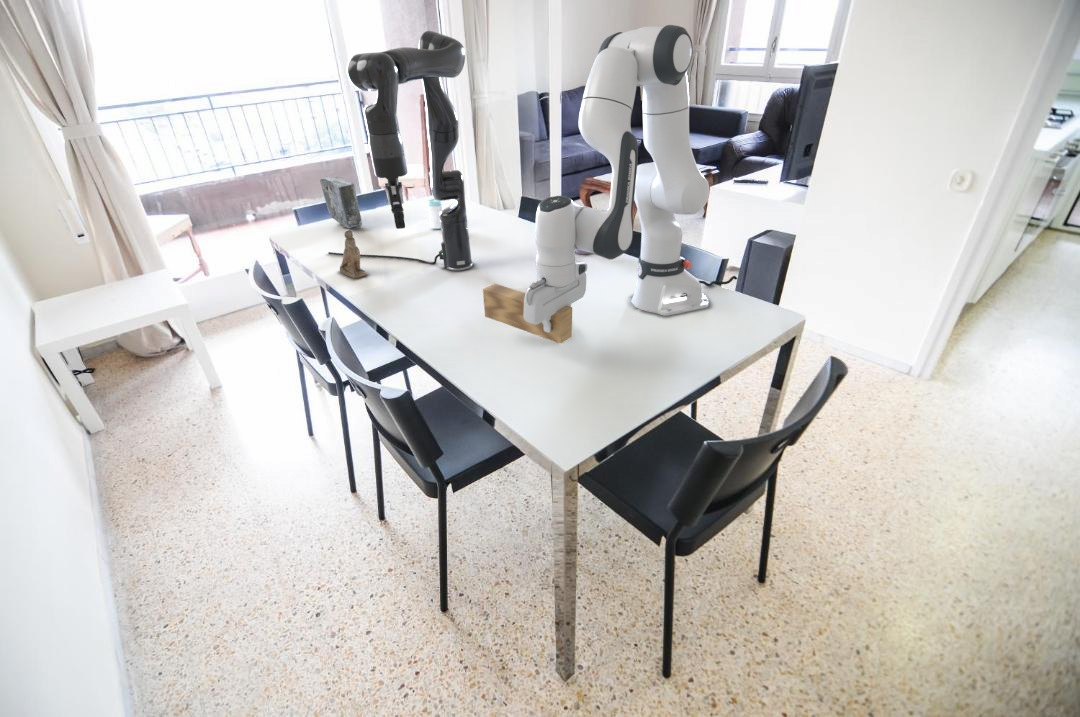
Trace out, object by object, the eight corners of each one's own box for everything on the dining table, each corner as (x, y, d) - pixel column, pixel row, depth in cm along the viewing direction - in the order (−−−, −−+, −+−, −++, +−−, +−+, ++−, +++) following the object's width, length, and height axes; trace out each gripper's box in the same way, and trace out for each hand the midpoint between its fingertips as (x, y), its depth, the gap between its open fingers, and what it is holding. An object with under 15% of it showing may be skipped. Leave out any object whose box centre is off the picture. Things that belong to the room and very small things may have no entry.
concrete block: (367, 229, 224) (357, 183, 213) (347, 233, 220) (336, 187, 209) (348, 217, 243) (338, 174, 232) (330, 221, 238) (318, 177, 228)
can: (445, 229, 220) (441, 202, 214) (429, 230, 220) (425, 202, 214) (447, 224, 226) (444, 198, 220) (432, 225, 226) (428, 198, 220)
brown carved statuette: (368, 281, 178) (362, 235, 166) (353, 285, 175) (347, 238, 163) (352, 266, 184) (346, 221, 172) (338, 270, 181) (331, 224, 169)
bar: (484, 316, 131) (482, 288, 127) (496, 310, 134) (494, 283, 130) (560, 343, 118) (561, 314, 114) (571, 336, 121) (572, 307, 117)
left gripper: (405, 157, 110) (417, 229, 119) (403, 148, 122) (414, 214, 130) (370, 160, 109) (385, 233, 117) (371, 150, 120) (385, 217, 129)
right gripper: (538, 290, 104) (539, 347, 111) (591, 261, 117) (589, 314, 125) (515, 283, 107) (518, 339, 114) (569, 256, 121) (569, 308, 128)
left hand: (400, 223), depth 124 cm, fingers open, 8 cm apart
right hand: (555, 326), depth 120 cm, fingers closed on bar, 4 cm apart
